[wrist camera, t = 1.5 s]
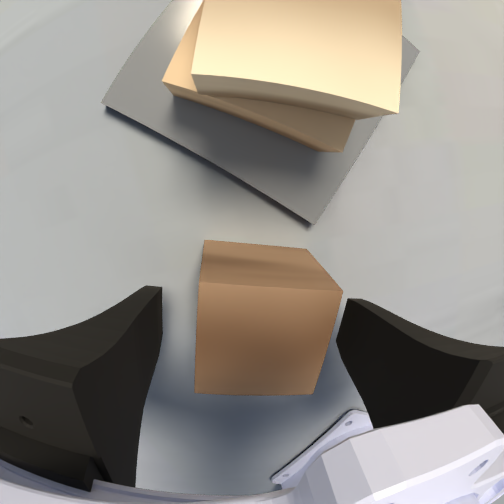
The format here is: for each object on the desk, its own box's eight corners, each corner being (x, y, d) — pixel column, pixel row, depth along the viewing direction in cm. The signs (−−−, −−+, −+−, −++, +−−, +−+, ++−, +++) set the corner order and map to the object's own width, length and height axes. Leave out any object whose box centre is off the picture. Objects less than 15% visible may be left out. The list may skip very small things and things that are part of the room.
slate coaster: (310, 222, 13) (314, 225, 12) (105, 104, 10) (100, 102, 10) (413, 53, 11) (419, 51, 10) (236, -57, 8) (237, -64, 8)
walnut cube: (289, 333, 15) (312, 394, 11) (198, 328, 14) (194, 392, 10) (306, 248, 13) (343, 291, 9) (204, 239, 13) (199, 281, 9)
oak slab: (318, 151, 11) (342, 152, 9) (173, 95, 10) (161, 81, 8) (365, 34, 10) (393, 15, 7) (234, -22, 9) (238, -53, 6)
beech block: (357, 120, 9) (398, 113, 6) (198, 94, 8) (190, 73, 6) (365, -3, 7) (398, -32, 5) (222, -33, 7) (224, -75, 4)
